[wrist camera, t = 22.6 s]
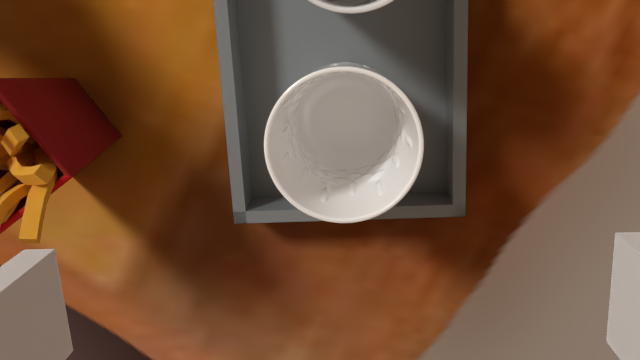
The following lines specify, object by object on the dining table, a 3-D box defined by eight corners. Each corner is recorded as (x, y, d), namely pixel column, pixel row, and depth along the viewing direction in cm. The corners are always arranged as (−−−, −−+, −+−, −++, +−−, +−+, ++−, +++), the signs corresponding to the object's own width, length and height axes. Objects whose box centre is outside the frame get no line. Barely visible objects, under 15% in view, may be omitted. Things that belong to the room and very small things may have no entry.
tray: (209, -173, 36) (195, -192, 33) (459, -192, 35) (471, -213, 32) (243, 206, 42) (234, 223, 39) (456, 199, 41) (465, 216, 38)
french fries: (75, 57, 40) (-82, 83, 26) (156, 156, 42) (51, 233, 27) (-17, 134, 42) (-213, 200, 27) (63, 226, 43) (-81, 334, 29)
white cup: (271, 153, 40) (245, 197, 31) (305, 36, 38) (288, 45, 29) (384, 187, 41) (393, 242, 31) (424, 74, 38) (447, 95, 29)
